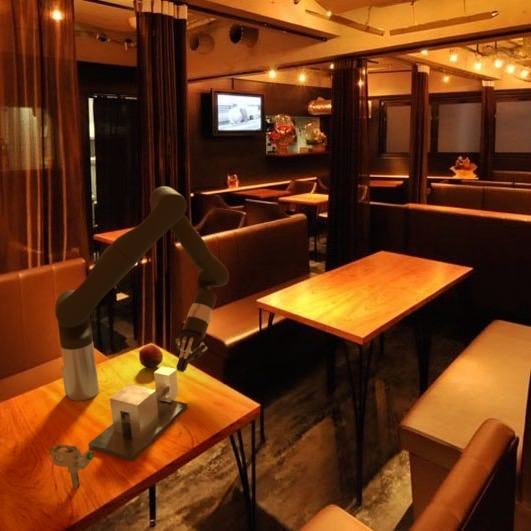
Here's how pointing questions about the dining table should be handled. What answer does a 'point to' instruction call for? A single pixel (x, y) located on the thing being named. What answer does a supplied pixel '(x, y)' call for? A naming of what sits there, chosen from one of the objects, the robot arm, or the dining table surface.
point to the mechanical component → (71, 460)
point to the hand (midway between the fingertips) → (180, 371)
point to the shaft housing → (136, 422)
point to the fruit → (150, 356)
